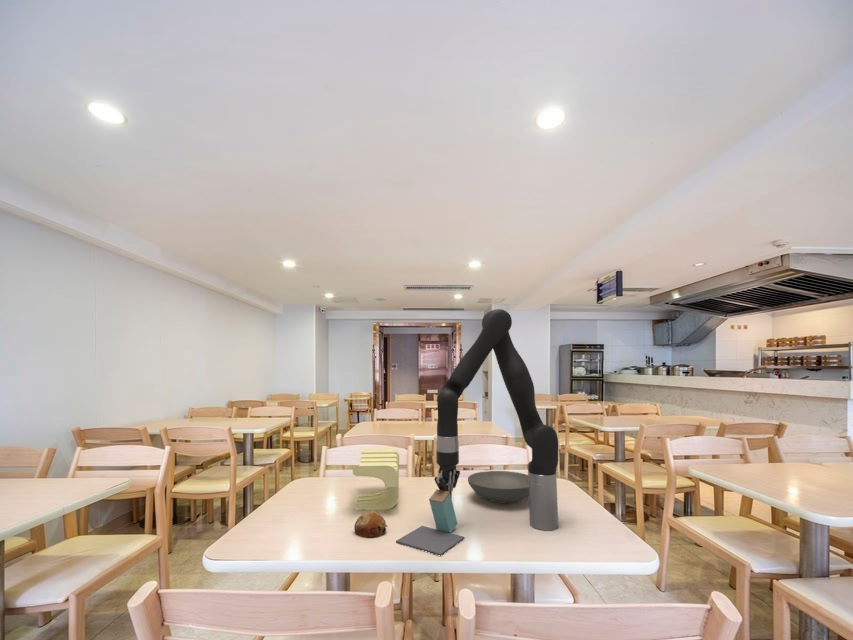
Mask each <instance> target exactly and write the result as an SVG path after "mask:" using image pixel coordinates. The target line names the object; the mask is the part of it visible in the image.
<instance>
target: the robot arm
mask: <svg viewBox="0 0 853 640" xmlns="http://www.w3.org/2000/svg"><path fill="white" fill-rule="evenodd" d="M512 324H513V320H512V317H511V314H510V313H509V312H508V311H507V310H505V309H502V308H497V309H491V310H490V311H488V312H486V313H485V314H484V315H483V318H482V320H481V327H482V328H481V329H482V330H481V331H480V333H479V335H478V337H477V338H476V340H475V341H474V343H473V344H472V345H471V346H470V347H469V349H468V350H467V351H466V353H465V354H464V355H463V356H462V358H460V360H459V361H458V364H457V365H456V366H455V368H454V369H453V371H452V372H451V375H450V376H449V378H448V379H447V381H446V382H445V383H444V385H443V386H442V387H441V389H440V390H439V392H438V394H437V396H436V402H437V423H436V444H435V445H436V447H435V449H436V453H435V457H436V458H435V459H436V461H435V462H436V464H437V465H438V466H439V469H438V475H437V476H435V477H434V482H435V484H436V486H437V487H438V490H443V491H448V492H450V494H451V499H452V498H453V496H452V495H453V494H452V493H453V491H454V489H455V488H456V486H457V485H458V484H457V483H458V480H459V478H460V474H461V471H460V470H458V469H457V466H458V464H459V462H460V460H459V459H460V453H459V452H460V451H459V449H460V448H459V447H460V445H459V444H460V443H459V432H458V431H459V425H458V415H459V413H458V412H459V399H460V397H461V395H462V394H463V392H464V391H465V390H466V389H467V388H468V387H469V386H470V385H471V383H472V381H473V379H474V378H475V377H476V375H477V373H478V372H479V370H480V369H481V367H482V365H483V364H484V362H485V361H486V359H487V357H488V356H489V354H490V353H491V352H492V351H493V352H494V355H495V359H496V361H497V365H498V367H499V371H500V374H501V377H502V380H503V383H504V385H505V388H506V391H507V392H508V395H509V398H510V400H511V403H512V404H513V408H514V409H515V412H516V414H517V417H518V420H519V425H520V428H521V432H522V436H523V439H524V442H525V443H526V445H527V446H528V447H529V448H531V450H532V451H531V454H532V455H531V460H530V461H529V462H528V465H527V475H528V480H529V497H528V507H529V508H528V510H529V525H530V526H531V527H532V528H534V529H537V530H541V531H554V530H556V529H558V528H559V509H558V508H559V506H558V504H559V503H558V483H557V482H558V481H557V468H558V465H559V438H558V433H557V431H556V430H555V429H554V428H553V427H552V426H550V425H547V424H544V422H543V421H542V419H541V417H540V414H539V411H538V410H537V406H536V399H535V397H536V396H535V393H536V391H535V385H534V382H533V378H532V377H531V373H530V371H529V369H528V366H527V364H526V363H525V361H524V359H523V357H522V356H521V355H520V354H519V352H518V350H517V349H516V347H515V345H514V343H513V340H512V337H511V334H510V329H511V328H512ZM452 500H453V499H452Z"/></svg>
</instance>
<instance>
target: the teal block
mask: <svg viewBox="0 0 853 640" xmlns="http://www.w3.org/2000/svg"><path fill="white" fill-rule="evenodd" d="M428 500H429V505H430V509H431V513H432V516H433V520H434V524H435V529H437V530H441V531H445V532H448V533H452V532H453V531H454V529H455V528H456V526H457V525H458V521H457V515H456V512H455V508H454V503H453V499H451V494H450V492H448V491H443V490H439V488H438V489H435V491H434V492H433V494H432V495H431V496H430V497H429V499H428Z"/></svg>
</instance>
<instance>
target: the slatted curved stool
mask: <svg viewBox="0 0 853 640" xmlns="http://www.w3.org/2000/svg"><path fill="white" fill-rule="evenodd" d="M358 464H359V465H354V466H353V465H352V475H353V476H355V477H368V478H376V479H378V480H381V481H382V482H383V484H384V487H385V488H386V489H384V490H383V491H379V492H375V493H366V494H365V493H364V494H358V496H357V499H356V502H355V508H354V510H355V509H375V510H390V509H393V508H394V507H395V506H396V505H397V503H398V500H399V490H400V487H399V478H400V477H399V476H400V475H399V474H400V473H399V471H400V453H398V451H397V450H396V449H394V448H362V449H361V454H360V460H359V463H358Z"/></svg>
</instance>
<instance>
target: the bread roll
mask: <svg viewBox="0 0 853 640" xmlns="http://www.w3.org/2000/svg"><path fill="white" fill-rule="evenodd" d="M387 528H388V525H387V524H386V519H385V518H384V517H383V516H382V515H381V514H380V513H379V512H377V511H373V510H369V511H367V512H365V513H363V514H361V515H360V516H359V517H358V518H357V519H356V521H355V523H354V528H353V529H354V533H355V534H356V536H358V537H362V538H367V539H372V538H373V539H375V538H379V537H380V536H382V535H384V534H385V533H386V531H387Z"/></svg>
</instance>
